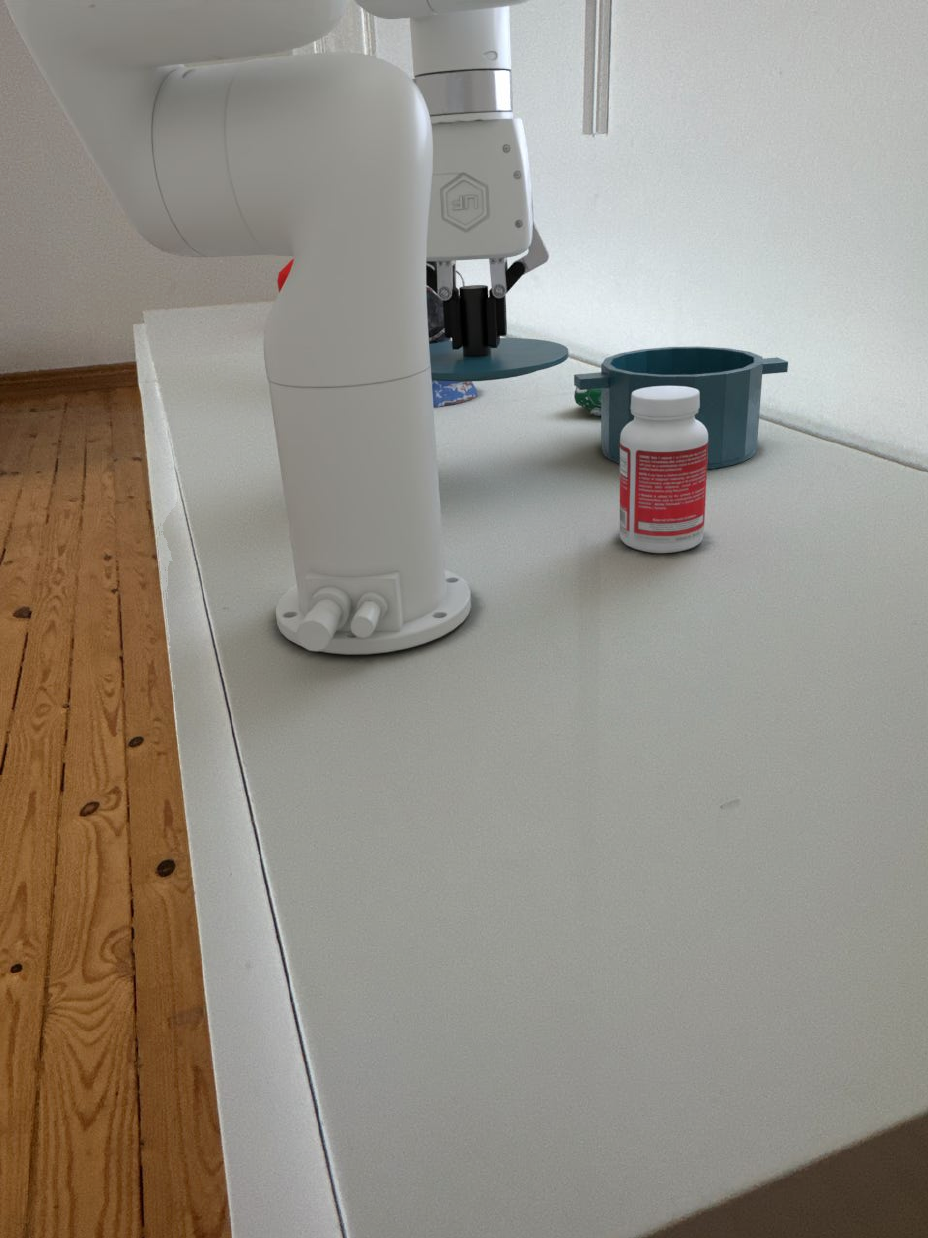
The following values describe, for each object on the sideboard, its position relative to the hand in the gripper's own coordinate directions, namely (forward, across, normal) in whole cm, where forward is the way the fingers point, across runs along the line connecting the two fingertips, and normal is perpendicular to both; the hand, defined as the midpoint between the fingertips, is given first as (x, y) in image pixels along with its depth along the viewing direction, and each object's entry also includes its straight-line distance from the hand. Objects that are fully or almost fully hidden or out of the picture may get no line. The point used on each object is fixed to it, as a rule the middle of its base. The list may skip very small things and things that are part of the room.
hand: (476, 343), depth 82 cm
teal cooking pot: (+12, +18, +10) cm, 24 cm away
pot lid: (+1, 0, 0) cm, 1 cm away
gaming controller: (+13, +12, +25) cm, 30 cm away
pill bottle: (+12, +15, -15) cm, 25 cm away
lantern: (+13, -11, +37) cm, 40 cm away
